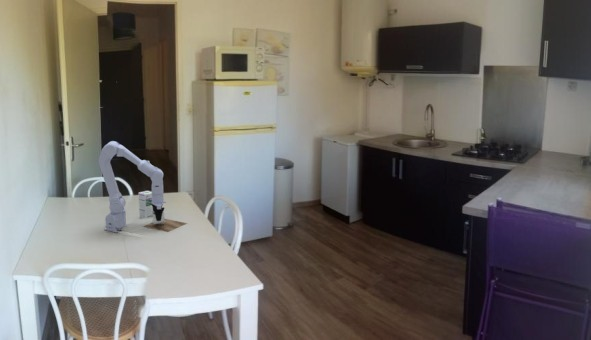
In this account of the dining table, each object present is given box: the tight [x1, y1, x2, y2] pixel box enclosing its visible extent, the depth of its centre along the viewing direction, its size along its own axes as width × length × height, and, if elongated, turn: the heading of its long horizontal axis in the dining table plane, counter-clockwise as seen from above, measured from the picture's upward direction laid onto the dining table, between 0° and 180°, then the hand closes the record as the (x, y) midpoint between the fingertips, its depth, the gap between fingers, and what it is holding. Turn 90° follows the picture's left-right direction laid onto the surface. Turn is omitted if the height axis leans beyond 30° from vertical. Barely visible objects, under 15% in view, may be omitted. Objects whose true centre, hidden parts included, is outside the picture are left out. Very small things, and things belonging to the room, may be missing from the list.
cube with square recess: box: [151, 210, 165, 224], centre depth 247 cm, size 6×6×5 cm
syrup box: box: [138, 190, 154, 220], centre depth 262 cm, size 6×6×14 cm
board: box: [142, 218, 188, 233], centre depth 248 cm, size 16×16×2 cm
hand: (158, 218), depth 247 cm, fingers closed on cube with square recess, 5 cm apart
